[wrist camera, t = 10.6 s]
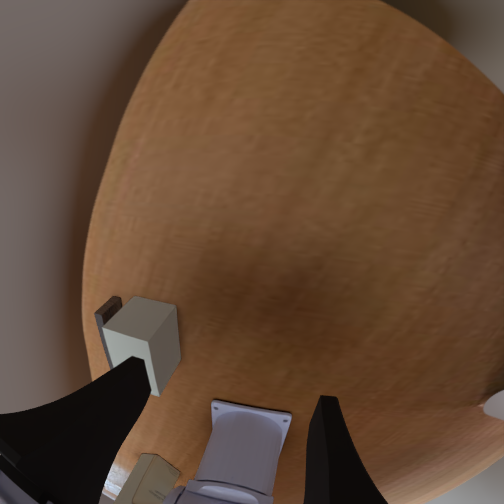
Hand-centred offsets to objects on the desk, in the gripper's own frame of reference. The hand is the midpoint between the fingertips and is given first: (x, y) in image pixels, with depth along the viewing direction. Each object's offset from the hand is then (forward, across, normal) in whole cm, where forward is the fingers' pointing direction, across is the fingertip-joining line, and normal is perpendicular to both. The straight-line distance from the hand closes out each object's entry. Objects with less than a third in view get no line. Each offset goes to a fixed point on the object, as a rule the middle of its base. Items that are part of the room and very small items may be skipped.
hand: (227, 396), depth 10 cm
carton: (+10, +9, +6) cm, 15 cm away
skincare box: (+11, +14, +38) cm, 42 cm away
